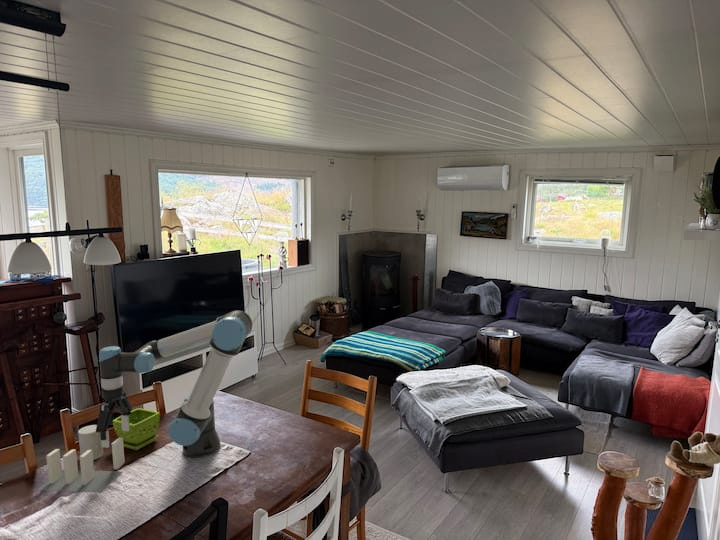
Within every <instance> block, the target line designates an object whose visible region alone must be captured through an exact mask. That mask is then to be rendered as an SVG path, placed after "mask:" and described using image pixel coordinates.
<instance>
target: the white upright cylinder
mask: <svg viewBox="0 0 720 540" xmlns="http://www.w3.org/2000/svg"><path fill="white" fill-rule="evenodd" d="M96 427H97V424H91V425H90V424H89V425H86V426H83V427H81V428H80V429H79V430H78V433H77V435H78V443H79V453H80V454H79V456H81V455H82V454H83V453H85V452H86V451H87V450H92V453H93V461H95V460H97V459H99V458H101V457H102V456H103V455H104V448H103V447H102V445H101V436H100V432H96Z"/></svg>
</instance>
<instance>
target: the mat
mask: <svg viewBox="0 0 720 540" xmlns="http://www.w3.org/2000/svg"><path fill="white" fill-rule="evenodd" d="M123 473H124V471H120V470H119V471H115V470H109V471H108V470H94V474H95V478H93V479H92V480H91V481H90V482H89V483H88V484H87V485H82V477H81V469H78V476H79V477H78V478H77V479H75V480H74V481H73V482H72V483H71V484H66V482H65V472H64V469H62V477H61V478H60V479H58V480H57V481H56V482H55V483H53V484H49V480H46V482H45V483H44V484H42V485H41V486H40V487H38V488H37V489H36V491H42V492H44V491H45V492H70V493H96V494H97V493H101V494H102V492H104V491H105V490H106V489H107V488H108V487H109V486H110V485H111V484H112V483H114V481H115V480H116V479H118V478H119V477H120V475H122V474H123Z"/></svg>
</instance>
